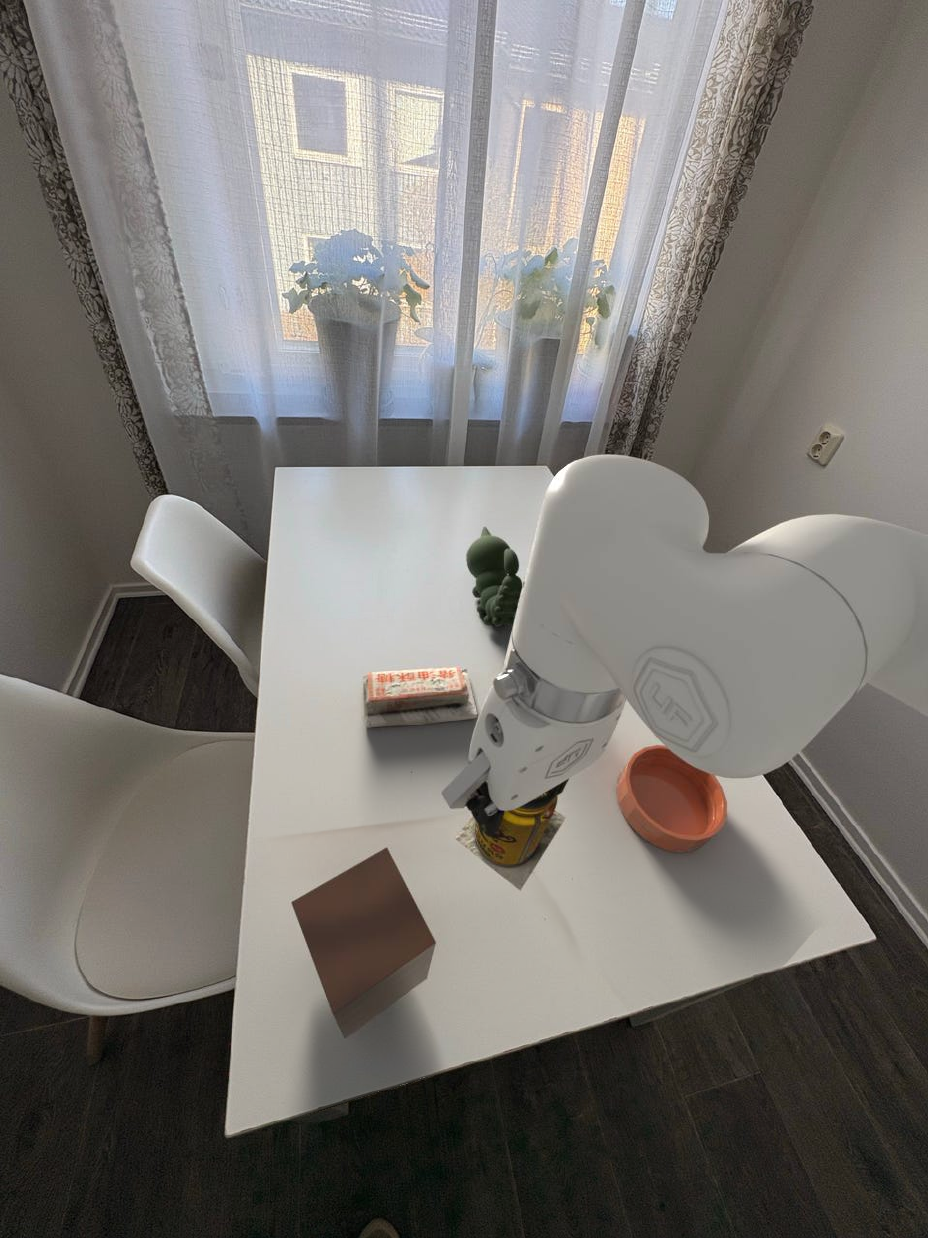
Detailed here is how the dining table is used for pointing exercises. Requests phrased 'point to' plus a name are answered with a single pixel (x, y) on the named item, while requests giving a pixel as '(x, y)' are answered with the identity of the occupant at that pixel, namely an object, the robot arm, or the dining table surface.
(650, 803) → the dish
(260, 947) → the dining table surface
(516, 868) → the condiment
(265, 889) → the dining table surface
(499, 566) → the toy figurine
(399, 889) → the stand
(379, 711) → the packaged product
